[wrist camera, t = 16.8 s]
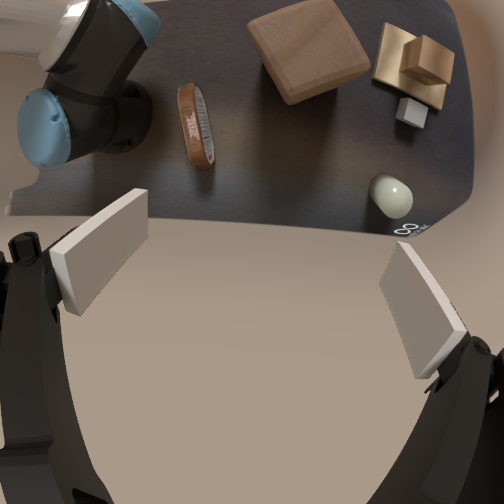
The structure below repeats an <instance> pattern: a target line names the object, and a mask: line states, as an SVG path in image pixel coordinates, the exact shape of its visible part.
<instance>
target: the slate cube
mask: <svg viewBox="0 0 504 504" xmlns="http://www.w3.org/2000/svg"><path fill="white" fill-rule="evenodd" d="M427 111H428V107H426V106H424V105H422V104H421V103H419V102H417V101H415V100H413V99H411V98H400V102H399V106H398V109H397V113H396V117H395V118H397V119H399V120H401V121H403V122H405V123H407V124H409V125H411V126H414V127H419V128H423V127H424V123H425V119H426V115H427Z"/></svg>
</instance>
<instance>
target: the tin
mask: <svg viewBox="0 0 504 504" xmlns="http://www.w3.org/2000/svg"><path fill="white" fill-rule="evenodd" d="M178 107H179V112H180V117H181V122H182V127H183V132H184V137H185V142H186V147H187V152H188V156H189V159H190V161H191V164H192V166H193V167H194V169H195V170H196V171H200V170H203V169H208V168H211V167H212V165H213V164H214V161H215V152H214V144H213V138H212V133H211V127H210V122H209V116H208V111H207V106H206V102H205V98H204V95H203V92H202V90H201V88H200V87H199V86H198V85H197V84H196V83H191V84H187V85H181V86H180V87H179V89H178Z"/></svg>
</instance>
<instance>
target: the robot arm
mask: <svg viewBox="0 0 504 504" xmlns="http://www.w3.org/2000/svg"><path fill="white" fill-rule="evenodd" d="M160 28H161V22H160V19H159V18H158V16H157V15H156V14H155V13H154V12H153V11H152V10H150V9H149V8H148V7H147V6H145V5H144V4H143V3H141V2H140V1H138V0H0V54H1V55H14V56H23V57H31V58H35V59H36V60H37V62H38V65H39V67H40V69H41V71H45V72H49V74H48V77H47V79H46V81H45V83H44V86H43V88H38V89H35V90H34V91H32V92H30V94H29V95H28V96H26V98H25V99H24V100H23V102H22V104H21V106H20V109H19V113H18V120H17V133H18V139H19V143H20V146H21V149H22V151H23V153H24V155H25V157H26V158H27V159H28V161H29V162H30V163H31V164H33V165H34V166H36V167H39V168H49V167H52V166H56V165H62V164H64V163H66V162H69V161H71V160H74V159H76V158H79V157H82V156H84V155H87V154H90V153H93V152H95V151H99V152H103V153H108V154H118V153H122V152H125V151H128V150H130V149H132V148H134V147H135V146H137V145H138V144H139V143H140V142H141V141H142V140H143V138H144V137H145V135H146V134H147V132H148V130H149V127H150V124H151V120H152V104H151V100H150V97H149V95H148V93H147V91H146V90H145V89H144V88H143V87H142V86H141V85H140V84H139V83H137V82H135V81H132V80H126V78H127V77H128V75H129V74H130V72H131V71H132V69H133V68H134V66H135V65H136V63H137V62H138V60H139V59H140V57H141V56H142V54H143V53H144V52H145V50H148V49H149V46H150V43H151V42H152V40H153V39H154V37H155V36H156V35H157V33H158V32H159V30H160ZM147 219H148V190H144V189H137V188H135V189H133V190H132V191H130V192H128V193H127V194H125V195H124V196H122V197H121V198H119V199H118V200H116V201H115V202H113V203H112V204H110V205H109V206H107V207H106V208H104V209H103V210H101V211H100V212H98V213H97V214H96V215H94V216H93V217H91V218H90V219H89V220H88V221H86V222H85V223H83V224H82V225H79V226H77V227H75V228H73V229H71V230H70V231H69V232H67V233H66V234H65V235H63V236H62V237H61V238H60V239H59V240H57V241H56V242H54V243H53V244H52V245H51V246H49V247H48V248H47V249H46V250H44V251H43V252H42V251H41V246H40V242H39V237H38V234H37V233H35V232H24V233H21V234H19V235H17V236H15V237H13V238H12V239H11V240H10V242H9V243H8V246H9V249H10V253H11V257H12V260H13V263H10V262H6V260H5V257H4V254H3V252H2V251H0V404H1V416H2V425H3V432H4V439H5V445H4V448H2V449H0V483H1V486H2V490H3V493H4V497H5V500H6V503H7V504H114V502H113V500H112V498H111V496H110V495H109V492H108V491H107V489H106V487H105V485H104V484H103V482H102V481H101V479H100V478H99V477H98V475H97V474H96V472H95V470H94V468H93V465H92V463H91V460H90V458H89V455H88V452H87V449H86V446H85V443H84V440H83V437H82V434H81V430H80V427H79V424H78V420H77V417H76V413H75V409H74V405H73V401H72V396H71V392H70V387H69V382H68V377H67V372H66V365H65V359H64V352H63V344H62V335H61V326H60V312H59V309H58V306H57V305H58V304H59V303H60V301H61V300H63V303H64V306H65V309H66V311H68V312H70V313H73V314H75V315H78V316H81V315H82V314H83V313H84V311H85V310H86V309H87V308H88V306H89V305H90V304H91V302H92V301H93V300H94V299H95V298H96V296H97V295H98V294H99V293H100V291H101V290H102V289H103V287H105V285H106V284H107V283H108V282H109V280H110V279H111V278H112V277H113V276H114V275H115V273H116V272H117V271H118V270H119V269H120V268H121V267H122V265H123V264H124V263H125V262H126V261H127V260H128V259H129V258H130V256H131V255H132V254H133V253H134V252H135V251H136V250H137V249H138V248H139V246H140V245H141V244H142V243H143V242H144V241H145V240H146V239H147V238H148V221H147ZM379 285H380V287H381V290H382V292H383V294H384V297H385V299H386V301H387V304H388V306H389V309H390V311H391V313H392V316H393V318H394V321H395V323H396V326H397V329H398V331H399V334H400V337H401V339H402V342H403V344H404V347H405V350H406V353H407V356H408V359H409V362H410V365H411V368H412V371H413V374H414V377H415V379H429V378H430V377H431V375H432V374H433V373H434V372H435V371H436V370H438V373H439V377H438V378H437V379H436V380H435V381H434V382H433V383H432V384H431V385H430V386H429V387H428V388H427V389H426V390H425V392H424V393H427V392H428V391H430V390H431V391H430V394H429V397H428V399H427V401H426V403H425V406H424V408H423V410H422V412H421V414H420V416H419V419H418V421H417V423H416V425H415V427H414V429H413V431H412V433H411V435H410V437H409V439H408V440H407V442H406V444H405V446H404V448H403V450H402V451H401V453H400V455H399V456H398V458H397V460H396V461H395V463H394V465H393V466H392V468H391V470H390V471H389V473H388V474H387V476H386V477H385V479H384V480H383V482H382V483H381V485H380V486H379V488H378V489H377V490H376V492H375V493H374V494H373V496H372V497H371V499H370V500H369V501H368V502H367V504H504V348H503V349H502V350H501V351H500V353H499V354H498V355H497V356H495V355H493V354H491V351H490V348H489V346H488V345H487V344H486V343H485V342H484V341H483V340H482V339H481V338H479V337H476V336H473V337H471V335H470V334H469V332H468V330H467V328H466V326H465V325H464V323H463V321H462V320H461V318H459V315H458V313H457V312H456V310H455V308H454V306H453V305H452V303H451V302H450V301H449V300H448V298H447V297H446V295H445V294H444V292H443V291H442V290H441V288H440V286H439V285H438V283H437V282H436V280H435V279H434V277H433V276H432V275H431V273H430V272H429V270H428V269H427V268H426V266H425V265H424V263H423V262H422V261H421V259H420V258H419V257H418V255H417V254H416V253H415V251H414V250H413V249H412V247H411V246H410V245H409V244H407V243H403V242H399V241H397V244H396V247H395V249H394V251H393V253H392V256H391V258H390V260H389V263H388V265H387V267H386V269H385V271H384V274H383V276H382V278H381V280H380V282H379ZM498 390H499V395H498V397H497V398H496V399H495V400H494V401H492V402H491V403H490V397H492V396H493V395H494V394H495V393H496V392H497V391H498Z"/></svg>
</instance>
